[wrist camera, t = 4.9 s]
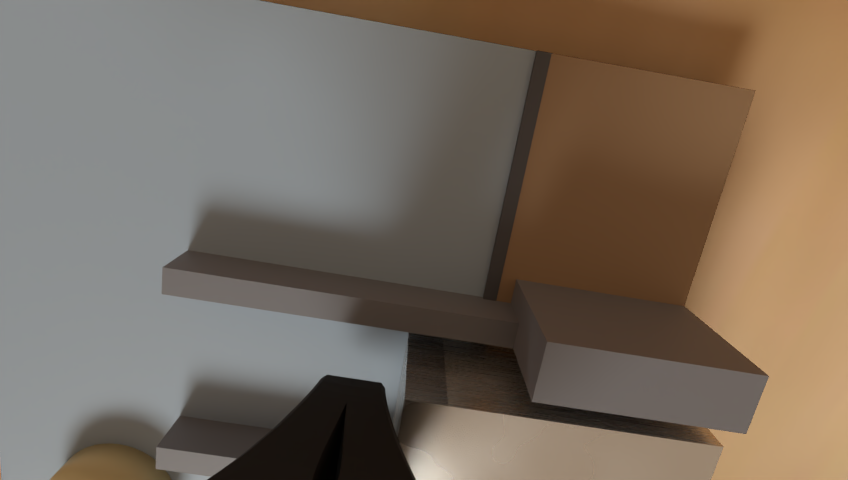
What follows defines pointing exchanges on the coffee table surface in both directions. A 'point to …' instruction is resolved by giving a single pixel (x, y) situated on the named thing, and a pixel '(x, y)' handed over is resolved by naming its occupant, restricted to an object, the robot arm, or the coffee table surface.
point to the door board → (333, 226)
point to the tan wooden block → (525, 426)
